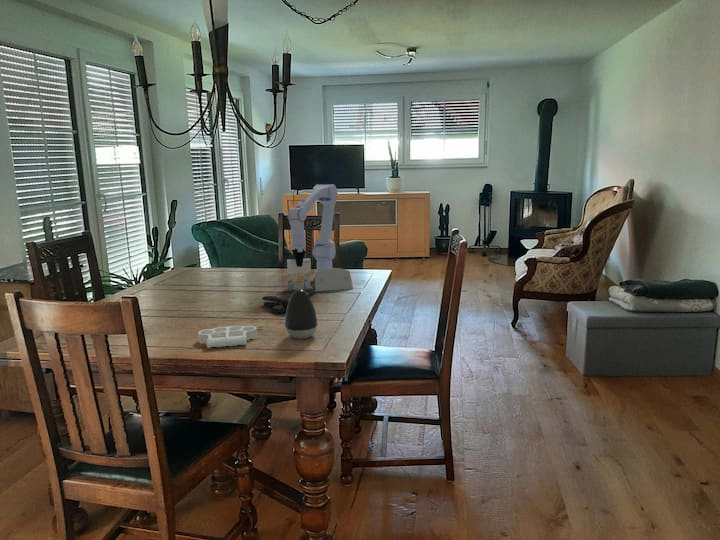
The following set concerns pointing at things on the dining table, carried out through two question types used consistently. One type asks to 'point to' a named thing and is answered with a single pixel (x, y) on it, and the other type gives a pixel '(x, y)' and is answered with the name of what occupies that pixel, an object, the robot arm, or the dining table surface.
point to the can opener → (277, 307)
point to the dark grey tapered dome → (301, 315)
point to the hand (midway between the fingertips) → (299, 265)
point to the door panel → (297, 270)
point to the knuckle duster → (227, 336)
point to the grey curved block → (333, 279)
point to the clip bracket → (293, 288)
